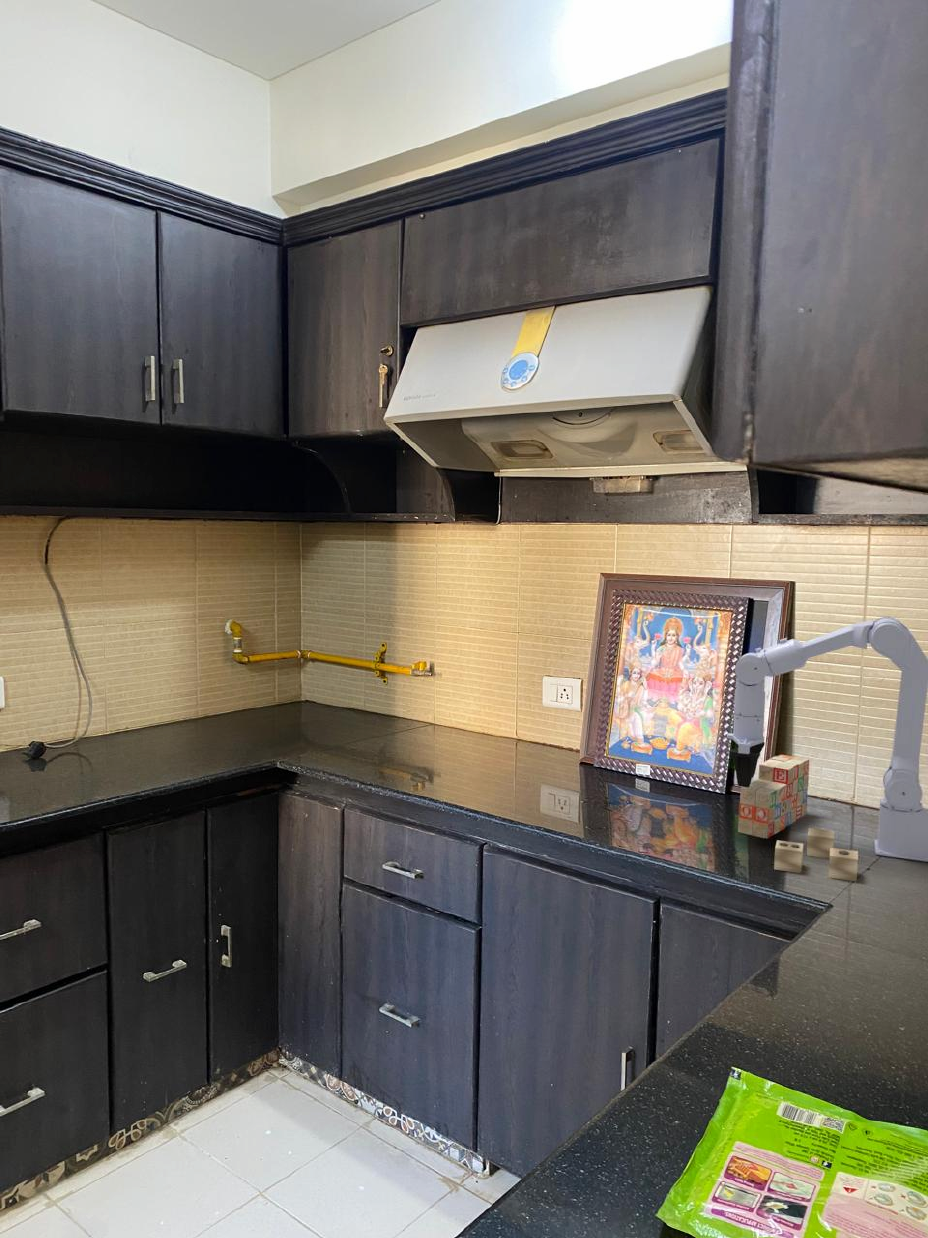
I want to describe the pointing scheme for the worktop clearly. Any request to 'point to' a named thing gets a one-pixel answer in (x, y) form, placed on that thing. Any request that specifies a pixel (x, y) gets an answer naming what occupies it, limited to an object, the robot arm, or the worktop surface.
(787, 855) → the two-dot maple block
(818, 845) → the plain maple block
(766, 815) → the stack of blocks
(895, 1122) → the worktop surface
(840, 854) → the one-dot maple block
